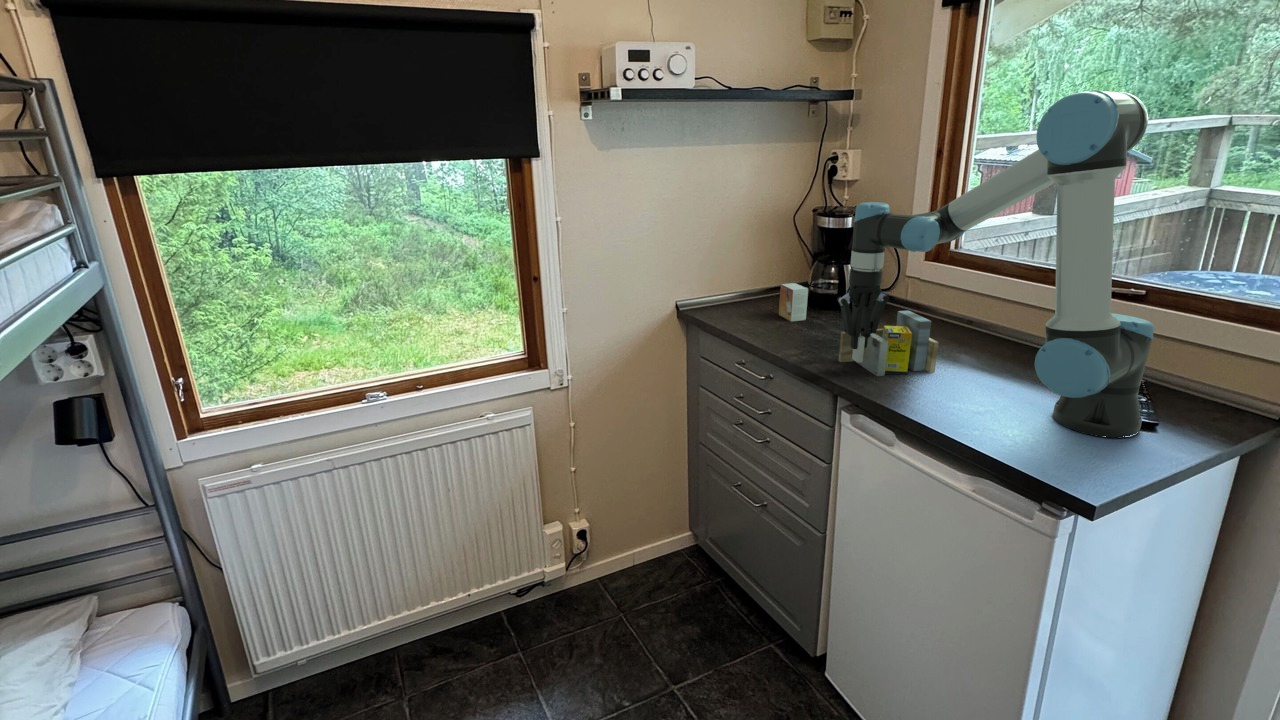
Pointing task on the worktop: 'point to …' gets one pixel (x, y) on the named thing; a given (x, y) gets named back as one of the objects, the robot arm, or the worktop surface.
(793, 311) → the small box
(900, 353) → the supplement box
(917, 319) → the rack
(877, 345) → the bookend
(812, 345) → the worktop surface
